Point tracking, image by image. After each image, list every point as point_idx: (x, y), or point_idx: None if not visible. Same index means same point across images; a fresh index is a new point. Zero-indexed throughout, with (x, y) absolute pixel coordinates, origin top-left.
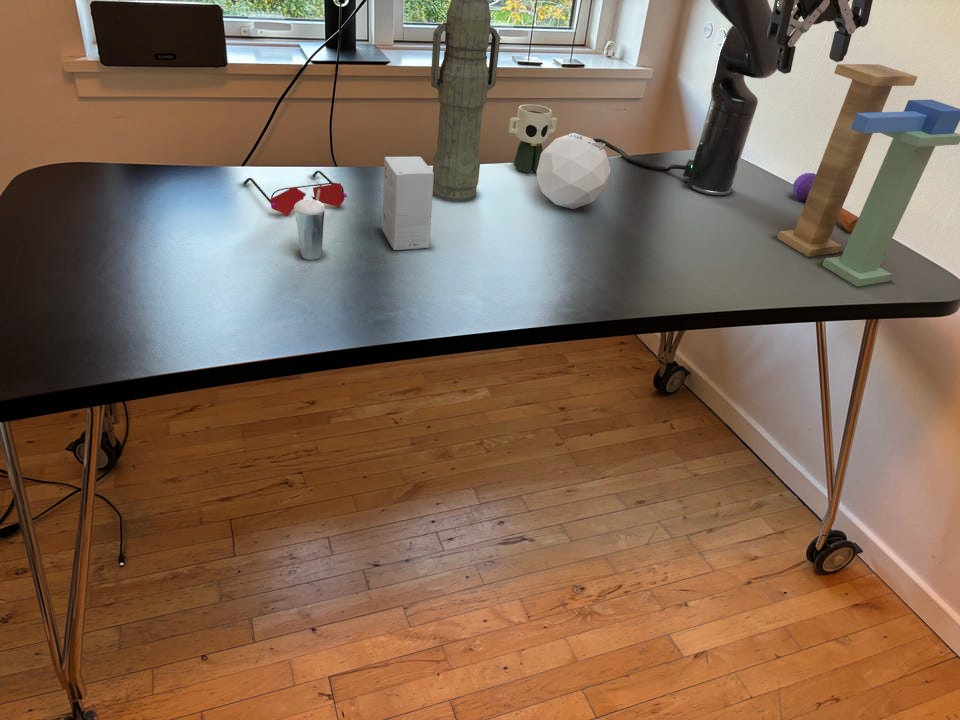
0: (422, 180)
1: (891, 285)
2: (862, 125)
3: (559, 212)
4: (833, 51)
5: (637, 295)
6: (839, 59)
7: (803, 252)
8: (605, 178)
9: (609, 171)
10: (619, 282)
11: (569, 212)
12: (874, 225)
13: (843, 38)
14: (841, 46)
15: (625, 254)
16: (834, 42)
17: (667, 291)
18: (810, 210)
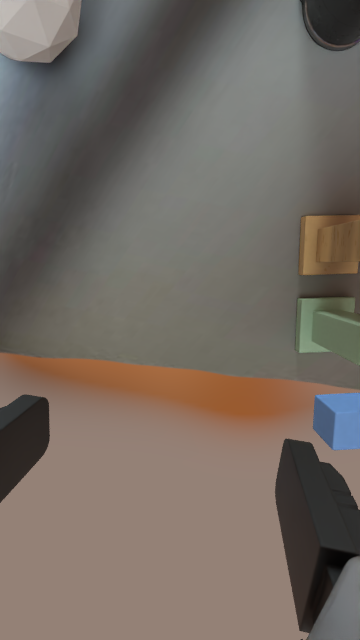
0: None
1: None
2: (320, 430)
3: None
4: (290, 475)
5: (13, 313)
6: (276, 502)
7: (299, 266)
8: (50, 36)
9: (64, 13)
10: (6, 281)
11: None
12: (346, 350)
13: (298, 598)
14: (288, 551)
15: (50, 215)
16: (298, 506)
17: (55, 312)
18: (340, 238)
